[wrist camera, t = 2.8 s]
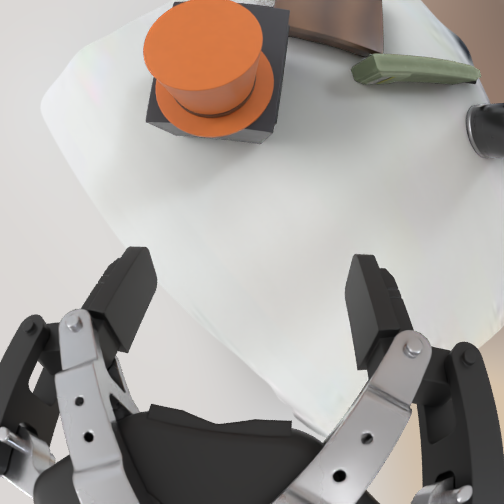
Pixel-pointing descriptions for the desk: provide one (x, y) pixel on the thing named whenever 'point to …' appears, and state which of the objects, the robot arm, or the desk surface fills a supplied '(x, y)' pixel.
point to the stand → (337, 23)
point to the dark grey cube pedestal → (275, 52)
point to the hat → (209, 67)
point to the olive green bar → (412, 70)
